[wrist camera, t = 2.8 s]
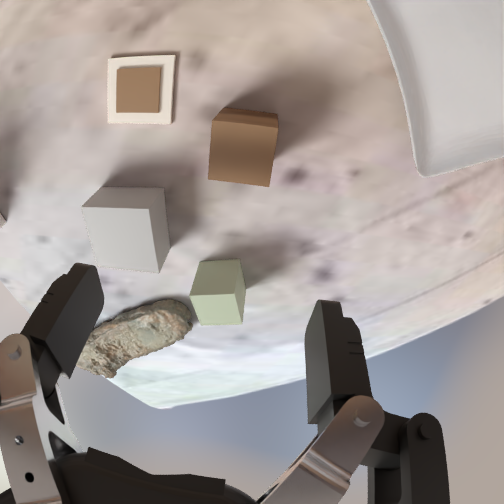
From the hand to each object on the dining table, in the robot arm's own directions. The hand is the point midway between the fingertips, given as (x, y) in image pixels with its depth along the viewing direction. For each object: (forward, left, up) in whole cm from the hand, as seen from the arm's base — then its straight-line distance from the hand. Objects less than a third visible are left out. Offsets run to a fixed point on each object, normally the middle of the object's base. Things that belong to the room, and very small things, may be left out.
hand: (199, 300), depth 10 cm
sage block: (+18, -1, -22) cm, 28 cm away
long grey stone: (+36, -19, -22) cm, 46 cm away
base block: (+11, -12, -22) cm, 27 cm away
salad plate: (-14, +21, -22) cm, 34 cm away
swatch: (-4, -11, -21) cm, 24 cm away
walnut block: (0, 0, -22) cm, 22 cm away
